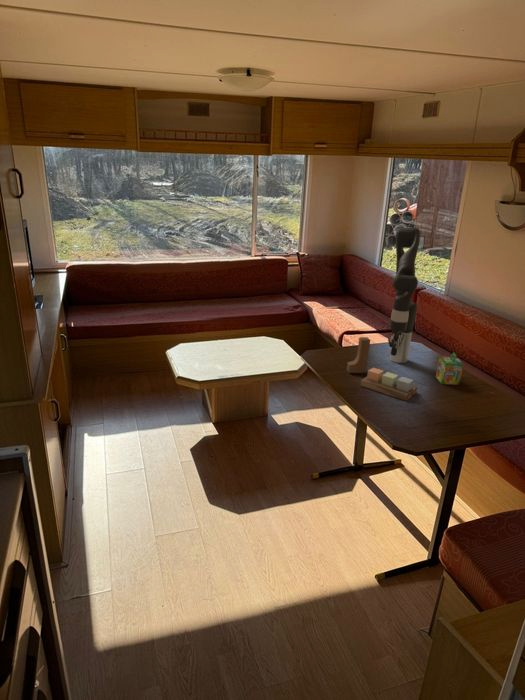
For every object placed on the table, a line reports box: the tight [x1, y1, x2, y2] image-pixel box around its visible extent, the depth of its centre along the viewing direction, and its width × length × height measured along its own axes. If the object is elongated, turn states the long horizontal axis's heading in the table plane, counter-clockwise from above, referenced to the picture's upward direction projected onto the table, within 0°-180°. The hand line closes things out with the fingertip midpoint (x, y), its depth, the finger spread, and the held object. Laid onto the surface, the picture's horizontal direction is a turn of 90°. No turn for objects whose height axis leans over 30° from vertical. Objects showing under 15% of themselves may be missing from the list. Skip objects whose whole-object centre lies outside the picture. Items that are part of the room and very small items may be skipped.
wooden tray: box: [360, 376, 418, 402], centre depth 235 cm, size 12×23×3 cm, turn 52°
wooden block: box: [346, 336, 371, 374], centre depth 251 cm, size 9×4×18 cm, turn 97°
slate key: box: [396, 376, 414, 392], centre depth 230 cm, size 6×6×5 cm
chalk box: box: [434, 352, 464, 386], centre depth 246 cm, size 9×9×15 cm
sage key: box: [381, 371, 399, 387], centre depth 234 cm, size 6×6×5 cm
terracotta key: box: [366, 367, 384, 383], centre depth 238 cm, size 6×6×5 cm
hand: (393, 355), depth 230 cm, fingers closed
